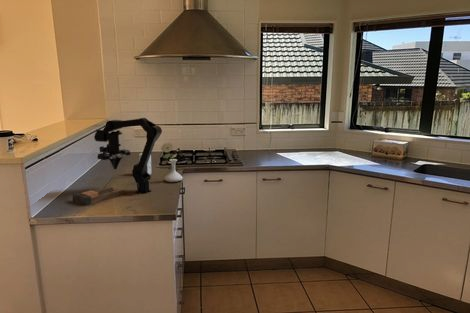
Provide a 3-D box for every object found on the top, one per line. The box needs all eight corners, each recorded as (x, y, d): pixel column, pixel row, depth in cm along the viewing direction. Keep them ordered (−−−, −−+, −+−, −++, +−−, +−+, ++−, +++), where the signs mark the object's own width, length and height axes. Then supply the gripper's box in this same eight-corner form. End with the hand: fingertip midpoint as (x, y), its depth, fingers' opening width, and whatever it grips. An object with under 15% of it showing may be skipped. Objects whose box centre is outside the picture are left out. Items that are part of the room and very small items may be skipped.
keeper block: (98, 200, 186) (98, 192, 185) (88, 203, 181) (88, 195, 180) (91, 198, 189) (91, 190, 188) (81, 201, 184) (81, 193, 184)
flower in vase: (182, 178, 231) (181, 140, 226) (183, 183, 220) (182, 143, 215) (162, 178, 229) (161, 140, 224) (161, 183, 218) (160, 143, 213)
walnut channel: (124, 193, 197) (124, 186, 196) (86, 205, 178) (85, 197, 177) (111, 190, 203) (111, 183, 202) (73, 201, 183) (72, 194, 183)
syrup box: (139, 175, 238) (138, 153, 235) (144, 173, 243) (144, 152, 241) (146, 175, 236) (146, 154, 233) (151, 173, 241) (151, 153, 239)
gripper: (117, 139, 212) (119, 164, 215) (90, 143, 196) (92, 170, 200) (130, 140, 206) (131, 166, 209) (103, 145, 190) (104, 173, 194)
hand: (115, 169), depth 203 cm, fingers closed
